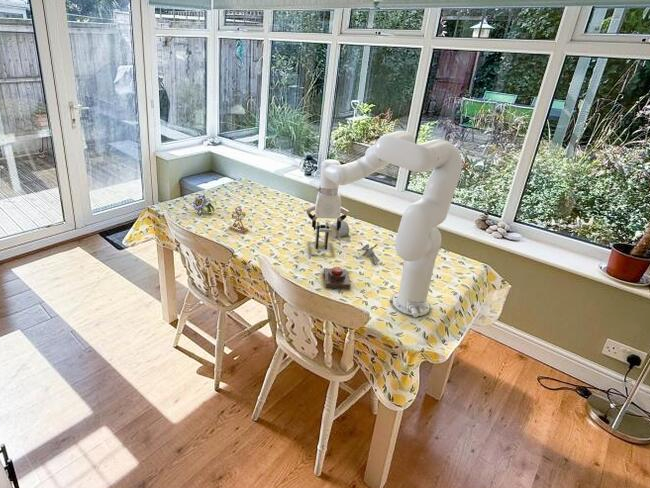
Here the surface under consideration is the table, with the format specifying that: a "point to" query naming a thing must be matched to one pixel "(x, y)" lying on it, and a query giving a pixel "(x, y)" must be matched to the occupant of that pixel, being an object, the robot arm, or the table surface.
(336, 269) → the button
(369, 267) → the table surface
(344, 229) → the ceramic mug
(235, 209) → the brown openwork figurine
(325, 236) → the black rod frame
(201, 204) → the passion flower
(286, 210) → the table surface
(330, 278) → the button block
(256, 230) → the table surface
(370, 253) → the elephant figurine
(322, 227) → the lever
